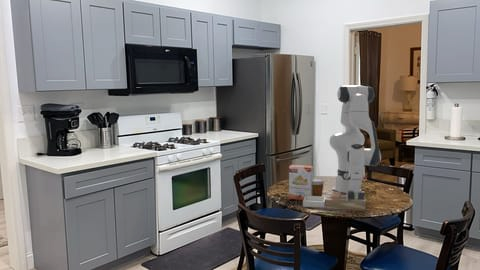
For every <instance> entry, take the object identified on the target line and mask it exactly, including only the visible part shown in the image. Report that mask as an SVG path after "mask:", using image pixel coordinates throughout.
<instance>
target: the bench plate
mask: <svg viewBox="0 0 480 270" xmlns="http://www.w3.org/2000/svg"><path fill="white" fill-rule="evenodd" d="M332 194H333V193H332ZM332 194H331V193H328V194H327V193H326V195H325V197H326V198H325V208H324V209H331V210H332V209H333V210H348V211H364V212H365V211H366V198H365V199H364V200H363V199H348V201H346V194H341V197H340V200H333V199H332Z"/></svg>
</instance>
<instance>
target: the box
mask: <svg viewBox="0 0 480 270" xmlns="http://www.w3.org/2000/svg"><path fill="white" fill-rule="evenodd" d="M325 198H326V195H325V196H323V195H322V196H307V195H305V198H304V200H302V207H304V208H317V209H326V208H325Z"/></svg>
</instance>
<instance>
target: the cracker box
mask: <svg viewBox="0 0 480 270" xmlns="http://www.w3.org/2000/svg"><path fill="white" fill-rule="evenodd" d="M313 178H314V166H313V165H299V164H291V165H289V166H288V180H289V181H288V184H289V185H288V197H289V200H296V201H297V200H298V201H299V200H300V201H303V200H304V198H305V195H307V196H313V194H312V181H313Z"/></svg>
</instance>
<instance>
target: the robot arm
mask: <svg viewBox="0 0 480 270" xmlns="http://www.w3.org/2000/svg"><path fill="white" fill-rule="evenodd" d="M337 99H338V101H339V102H340V103H342V105H341V106H342V107H341V112H340V114H341V115H340V124H341V125H342V126H343V127H344V128H345V132H338V133H335V134H332V135H331V136H330V138H329V141H328V142H329V146H330V147H331V149H333V150H334V151H335V153H336V155H337V171H336V172H337V173H336V174H337V176H336V177H334V186H333V187H332V188H331V190H332V191H334V192H341V193H344V194H346V190H348V191H353V193H355V199H358V193H360V191H361V192H362V189H361V187H362V181H363V180H364V178H365V176H366V173H365V172H366V167H365V166H369V167H376V166H378V165H379V164H380V163H381V162H382V161H381V160H382V154H381V151H380V148H379V142H378V136H377V135H378V134H377V130H376V126H375V122H374V121H373V120H371V118H370V115H369V113H370V112H369V104H370V103H372V102H373V101H374V99H375V91H374V87H371V86H368V85H365V86H364V85H357V84H356V85H341V86H339V88H338V90H337ZM361 130H363V131H365V132H367V134H368V135H369V140H370V148H365V146H364V144H365V140H366V139H365V135H364V134H363V133H362V132H361Z"/></svg>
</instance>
